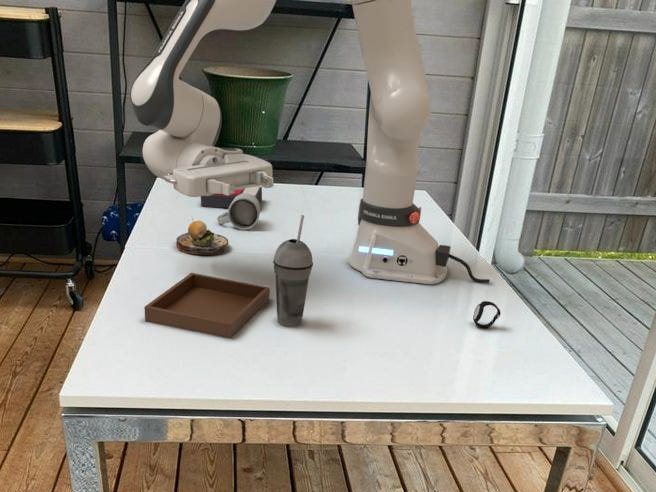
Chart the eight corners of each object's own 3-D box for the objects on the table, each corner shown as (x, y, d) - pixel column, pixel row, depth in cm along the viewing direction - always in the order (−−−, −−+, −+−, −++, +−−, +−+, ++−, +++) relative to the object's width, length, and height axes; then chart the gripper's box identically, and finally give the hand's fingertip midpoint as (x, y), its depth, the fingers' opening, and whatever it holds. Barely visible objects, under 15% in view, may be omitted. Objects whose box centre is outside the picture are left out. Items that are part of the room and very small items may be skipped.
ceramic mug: (260, 221, 195) (261, 190, 191) (258, 231, 189) (259, 199, 184) (219, 219, 195) (218, 187, 191) (215, 228, 188) (215, 196, 184)
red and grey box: (207, 181, 209) (262, 183, 209) (208, 198, 212) (262, 200, 211) (199, 192, 200) (256, 194, 200) (201, 208, 203) (257, 211, 202)
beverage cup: (269, 314, 147) (274, 207, 136) (306, 315, 148) (314, 210, 136) (271, 329, 141) (276, 220, 130) (310, 331, 142) (318, 222, 131)
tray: (269, 300, 152) (270, 287, 151) (231, 338, 137) (231, 324, 135) (191, 285, 156) (191, 272, 154) (145, 321, 140) (144, 306, 138)
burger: (233, 255, 173) (234, 221, 169) (182, 257, 169) (181, 223, 165) (221, 238, 182) (221, 206, 178) (171, 239, 179) (170, 207, 174)
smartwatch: (473, 321, 152) (478, 297, 149) (499, 327, 150) (504, 303, 147) (468, 328, 149) (473, 303, 146) (493, 334, 147) (499, 309, 144)
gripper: (158, 158, 138) (206, 175, 131) (244, 147, 151) (292, 162, 143) (159, 194, 142) (206, 213, 134) (243, 180, 154) (290, 196, 147)
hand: (251, 186), depth 139 cm, fingers open, 8 cm apart
